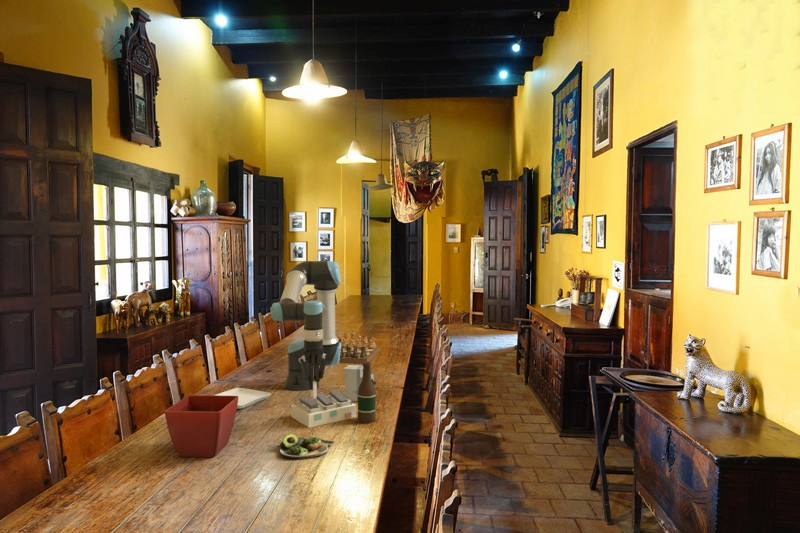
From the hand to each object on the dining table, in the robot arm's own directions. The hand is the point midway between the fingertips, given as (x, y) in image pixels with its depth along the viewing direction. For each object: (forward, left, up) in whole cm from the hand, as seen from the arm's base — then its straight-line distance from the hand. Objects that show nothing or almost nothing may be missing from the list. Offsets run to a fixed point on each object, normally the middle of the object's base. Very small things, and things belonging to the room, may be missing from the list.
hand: (313, 396), depth 212 cm
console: (-4, +7, -11) cm, 13 cm away
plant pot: (+2, -44, -11) cm, 46 cm away
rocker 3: (-4, +14, -4) cm, 15 cm away
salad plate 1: (-45, -14, -11) cm, 48 cm away
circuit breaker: (-16, +33, -11) cm, 38 cm away
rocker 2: (-4, +7, -4) cm, 9 cm away
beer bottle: (+10, +19, -11) cm, 24 cm away
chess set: (-101, +75, -11) cm, 126 cm away
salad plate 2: (+22, -16, -11) cm, 30 cm away
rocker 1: (-4, 0, -4) cm, 6 cm away
